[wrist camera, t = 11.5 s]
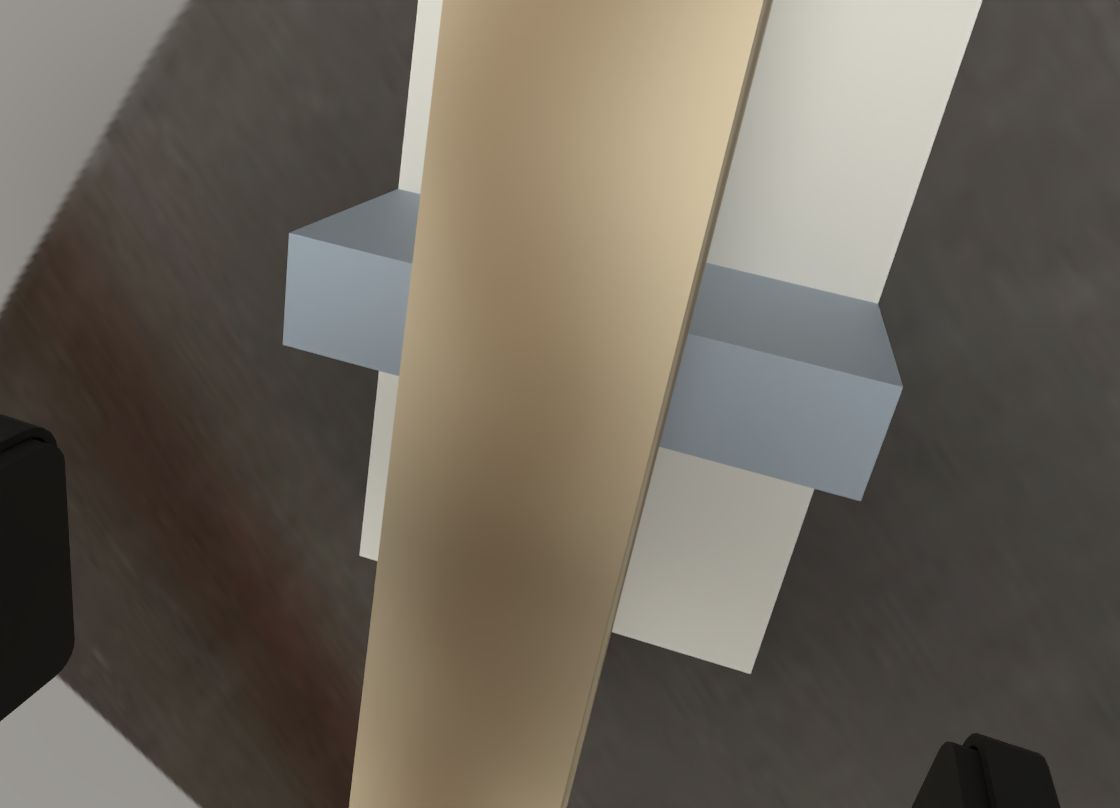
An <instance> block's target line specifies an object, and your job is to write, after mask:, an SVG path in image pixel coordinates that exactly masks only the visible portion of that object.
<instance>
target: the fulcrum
mask: <svg viewBox="0 0 1120 808" xmlns="http://www.w3.org/2000/svg"><path fill="white" fill-rule="evenodd" d="M981 3H982V0H773V3H772V7H771V11H770V15H769V19H768V23H767V27H766V31H765V35H764V38H763V42H762V46H761V50H760V54H759V58H758V62H757V66H756V70H755V74H754V78H753V81H752V85H751V89H750V93H749V97H748V101H747V105H746V109H745V113H744V117H743V121H742V124H741V128H740V132H739V136H738V140H737V144H736V148H735V152H734V156H733V160H732V164H731V167H730V171H729V175H728V179H727V183H726V187H725V191H724V195H723V199H722V203H721V207H720V210H719V214H718V218H717V222H716V226H715V230H714V234H713V238H712V242H711V246H710V250H709V254H708V257H707V261H706V265H705V269H704V273H703V277H702V281H701V285H700V289H699V293H698V297H697V300H696V304H695V308H694V312H693V316H692V320H691V324H690V328H689V332H688V336H687V340H686V343H685V347H684V351H683V355H682V359H681V363H680V367H679V371H678V375H677V379H676V383H675V386H674V390H673V394H672V398H671V402H670V406H669V410H668V414H667V418H666V422H665V426H664V430H663V433H662V437H661V441H660V445H659V449H658V453H657V457H656V461H655V465H654V469H653V473H652V476H651V480H650V484H649V488H648V492H647V496H646V500H645V504H644V508H643V512H642V516H641V519H640V523H639V527H638V531H637V535H636V539H635V543H634V547H633V551H632V555H631V559H630V562H629V566H628V570H627V574H626V578H625V582H624V586H623V590H622V594H621V598H620V602H619V605H618V609H617V613H616V617H615V621H614V625H613V629H612V632H613V633H617V634H620V635H623V636H626V637H630V638H633V639H636V640H640V641H643V642H646V643H650V644H653V645H656V646H660V647H663V648H666V649H669V650H673V651H676V652H679V653H683V654H686V655H689V656H693V657H696V658H699V659H702V660H706V661H709V662H712V663H716V664H719V665H722V666H726V667H729V668H732V669H735V670H739V671H742V672H745V673H749V674H751V671H752V669H753V666H754V663H755V660H756V657H757V654H758V651H759V648H760V645H761V642H762V639H763V637H764V634H765V631H766V628H767V625H768V622H769V619H770V616H771V613H772V610H773V608H774V605H775V602H776V599H777V596H778V593H779V590H780V587H781V584H782V581H783V578H784V576H785V573H786V570H787V567H788V564H789V561H790V558H791V555H792V552H793V549H794V546H795V544H796V541H797V538H798V535H799V532H800V529H801V526H802V523H803V520H804V517H805V514H806V512H807V509H808V506H809V503H810V500H811V497H812V494H813V491H814V489H817V490H821V491H825V492H828V493H832V494H836V495H839V496H843V497H847V498H850V499H854V500H858V501H861V499H862V497H863V494H864V491H865V489H866V486H867V483H868V480H869V478H870V475H871V472H872V470H873V467H874V464H875V462H876V459H877V456H878V453H879V451H880V448H881V445H882V443H883V440H884V437H885V435H886V432H887V429H888V427H889V424H890V421H891V418H892V416H893V413H894V410H895V408H896V405H897V402H898V400H899V397H900V394H901V391H902V389H903V385H902V382H901V379H900V375H899V372H898V369H897V365H896V362H895V359H894V355H893V352H892V349H891V345H890V342H889V339H888V336H887V332H886V329H885V326H884V322H883V319H882V316H881V312H880V309H879V306H878V302H879V299H880V296H881V293H882V291H883V288H884V285H885V282H886V279H887V276H888V273H889V270H890V267H891V264H892V262H893V259H894V256H895V253H896V250H897V247H898V244H899V241H900V238H901V235H902V232H903V230H904V227H905V224H906V221H907V218H908V215H909V212H910V209H911V206H912V203H913V200H914V198H915V195H916V192H917V189H918V186H919V183H920V180H921V177H922V174H923V171H924V168H925V166H926V163H927V160H928V157H929V154H930V151H931V148H932V145H933V142H934V139H935V136H936V134H937V131H938V128H939V125H940V122H941V119H942V116H943V113H944V110H945V107H946V104H947V102H948V99H949V96H950V93H951V90H952V87H953V84H954V81H955V78H956V75H957V73H958V70H959V67H960V64H961V61H962V58H963V55H964V52H965V49H966V46H967V43H968V41H969V38H970V35H971V32H972V29H973V26H974V23H975V20H976V17H977V14H978V11H979V9H980V6H981ZM442 4H443V0H418V8H417V18H416V27H415V37H414V46H413V55H412V65H411V74H410V84H409V93H408V103H407V112H406V122H405V131H404V140H403V150H402V159H401V169H400V178H399V188H398V189H397V190H394V191H392V192H389V193H387V194H384V195H382V196H379V197H377V198H374V199H372V200H369V201H367V202H364V203H362V204H359V205H357V206H354V207H352V208H350V209H347V210H345V211H342V212H340V213H337V214H335V215H332V216H330V217H327V218H325V219H322V220H320V221H317V222H315V223H312V224H310V225H307V226H305V227H302V228H300V229H297V230H295V231H292V232H290V233H289V244H288V261H287V279H286V296H285V314H284V331H283V345H286V346H289V347H293V348H297V349H300V350H304V351H308V352H311V353H315V354H319V355H323V356H326V357H330V358H334V359H337V360H341V361H345V362H348V363H352V364H356V365H359V366H363V367H367V368H371V369H374V370H378V371H379V376H378V386H377V395H376V404H375V414H374V423H373V433H372V442H371V452H370V461H369V470H368V480H367V489H366V499H365V508H364V518H363V527H362V536H361V546H360V555H359V556H362V557H366V558H369V559H372V560H375V561H378V554H379V545H380V537H381V528H382V519H383V511H384V502H385V494H386V485H387V476H388V468H389V459H390V451H391V442H392V433H393V425H394V416H395V408H396V399H397V390H398V382H399V373H400V365H401V356H402V347H403V339H404V330H405V322H406V313H407V304H408V296H409V287H410V279H411V270H412V261H413V253H414V244H415V236H416V227H417V218H418V210H419V201H420V193H421V184H422V176H423V167H424V158H425V150H426V141H427V133H428V124H429V115H430V107H431V98H432V90H433V81H434V72H435V64H436V55H437V47H438V38H439V29H440V21H441V12H442Z"/></svg>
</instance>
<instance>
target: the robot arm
mask: <svg viewBox="0 0 1120 808" xmlns="http://www.w3.org/2000/svg"><path fill="white" fill-rule="evenodd" d="M74 640H75V639H74V620H73V602H72V584H71V566H70V548H69V530H68V511H67V493H66V475H65V460H64V456H63V453H62V452H61V450H60V449H59V448H57V444H56V440H55V438H54V437H53V435H52V434H51V432H49V431H48V430H46V429H44V428H42V427H39V426H36V425H33V424H29V423H26V422H23V421H20V420H17V419H14V418H11V417H8V416H5V415H0V721H1V720H2V719H4V718H5V717H6V716H7V715H9V714H10V713H11V712H12V711H13V710H15V709H16V708H17V707H18V706H20V705H21V704H22V703H23V702H24V701H26V700H27V699H28V698H29V697H31V696H32V695H33V694H34V693H35V692H37V691H38V690H39V689H40V688H41V687H43V686H44V685H45V684H46V683H47V682H49V681H50V680H51V679H53V678H54V677H55V676H56V675H57V674H58V673H59V672H60V671H61V670H62V669H63V668H64V666H65V665H66V663H67V662H68V660H69V658H70V656H71V654H72V651H73V648H74ZM912 808H1060V805H1059V801H1058V798H1057V794H1056V791H1055V788H1054V784H1053V781H1052V777H1051V774H1050V770H1049V767H1048V765H1047V762H1046V760H1045V758H1044V757H1043V756H1041V755H1040V754H1039V753H1036V752H1033V751H1030V750H1027V749H1024V748H1021V747H1018V746H1014V745H1011V744H1008V743H1005V742H1002V741H999V740H996V739H993V738H990V737H987V736H984V735H981V734H978V733H976V734H971V735H970V736H969V737H968V738H967V739H966V741H965V742H964V744H963V746H962V745H959V744H956V743H953V742H945V743H944V744H943V745H942V746H941V748H940V750H939V752H938V753H937V756H936V758H935V760H934V762H933V764H932V766H931V768H930V770H929V772H928V774H927V776H926V779H925V781H924V783H923V785H922V787H921V789H920V791H919V793H918V795H917V797H916V800H915V802H914V804H913V806H912Z"/></svg>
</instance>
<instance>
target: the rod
mask: <svg viewBox="0 0 1120 808" xmlns="http://www.w3.org/2000/svg"><path fill="white" fill-rule="evenodd" d="M772 3H773V0H443V4H442V12H441V21H440V29H439V38H438V47H437V55H436V64H435V72H434V81H433V90H432V98H431V107H430V115H429V124H428V133H427V141H426V150H425V158H424V167H423V176H422V184H421V193H420V201H419V210H418V218H417V227H416V236H415V244H414V253H413V261H412V270H411V279H410V287H409V296H408V304H407V313H406V322H405V330H404V339H403V347H402V356H401V365H400V373H399V382H398V390H397V399H396V408H395V416H394V425H393V433H392V442H391V451H390V459H389V468H388V476H387V485H386V494H385V502H384V511H383V519H382V528H381V537H380V545H379V554H378V562H377V571H376V579H375V588H374V597H373V605H372V614H371V622H370V631H369V640H368V648H367V657H366V665H365V674H364V683H363V691H362V700H361V708H360V717H359V726H358V734H357V743H356V751H355V760H354V769H353V777H352V786H351V794H350V803H349V808H567V805H568V801H569V797H570V793H571V789H572V785H573V781H574V778H575V774H576V770H577V766H578V762H579V758H580V754H581V750H582V746H583V742H584V738H585V735H586V731H587V727H588V723H589V719H590V715H591V711H592V707H593V703H594V699H595V695H596V692H597V688H598V684H599V680H600V676H601V672H602V668H603V664H604V660H605V656H606V652H607V649H608V645H609V641H610V637H611V633H612V629H613V625H614V621H615V617H616V613H617V609H618V605H619V602H620V598H621V594H622V590H623V586H624V582H625V578H626V574H627V570H628V566H629V562H630V559H631V555H632V551H633V547H634V543H635V539H636V535H637V531H638V527H639V523H640V519H641V516H642V512H643V508H644V504H645V500H646V496H647V492H648V488H649V484H650V480H651V476H652V473H653V469H654V465H655V461H656V457H657V453H658V449H659V445H660V441H661V437H662V433H663V430H664V426H665V422H666V418H667V414H668V410H669V406H670V402H671V398H672V394H673V390H674V386H675V383H676V379H677V375H678V371H679V367H680V363H681V359H682V355H683V351H684V347H685V343H686V340H687V336H688V332H689V328H690V324H691V320H692V316H693V312H694V308H695V304H696V300H697V297H698V293H699V289H700V285H701V281H702V277H703V273H704V269H705V265H706V261H707V257H708V254H709V250H710V246H711V242H712V238H713V234H714V230H715V226H716V222H717V218H718V214H719V210H720V207H721V203H722V199H723V195H724V191H725V187H726V183H727V179H728V175H729V171H730V167H731V164H732V160H733V156H734V152H735V148H736V144H737V140H738V136H739V132H740V128H741V124H742V121H743V117H744V113H745V109H746V105H747V101H748V97H749V93H750V89H751V85H752V81H753V78H754V74H755V70H756V66H757V62H758V58H759V54H760V50H761V46H762V42H763V38H764V35H765V31H766V27H767V23H768V19H769V15H770V11H771V7H772Z"/></svg>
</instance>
